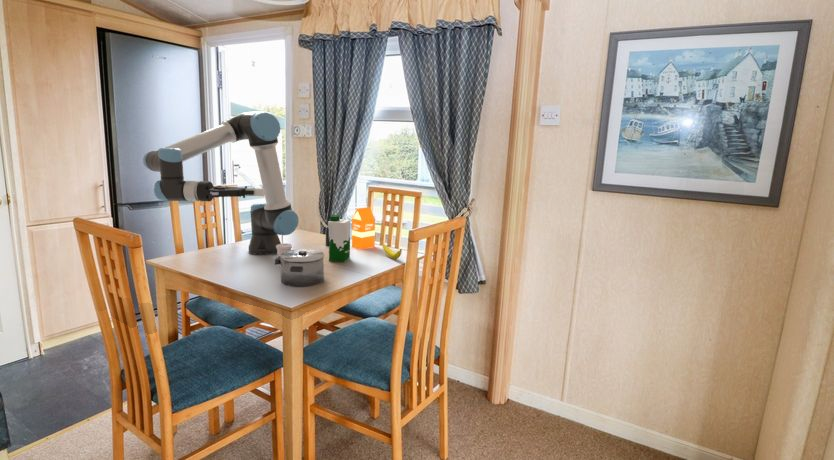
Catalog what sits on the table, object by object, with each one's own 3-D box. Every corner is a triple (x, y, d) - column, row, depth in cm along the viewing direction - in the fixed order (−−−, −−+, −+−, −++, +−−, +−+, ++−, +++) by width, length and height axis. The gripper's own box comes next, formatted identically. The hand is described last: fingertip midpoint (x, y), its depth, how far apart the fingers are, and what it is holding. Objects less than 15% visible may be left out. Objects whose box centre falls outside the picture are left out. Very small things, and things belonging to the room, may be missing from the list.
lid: (327, 252, 182) (327, 247, 181) (319, 263, 166) (319, 258, 166) (287, 251, 181) (286, 246, 181) (275, 262, 166) (275, 257, 165)
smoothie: (278, 265, 194) (277, 233, 191) (293, 265, 195) (292, 233, 192) (275, 269, 188) (273, 236, 185) (290, 269, 188) (289, 236, 186)
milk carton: (333, 256, 211) (333, 214, 207) (352, 258, 209) (352, 215, 205) (326, 261, 202) (325, 217, 198) (345, 263, 200) (345, 218, 196)
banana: (385, 252, 220) (385, 240, 218) (404, 262, 204) (404, 249, 202) (379, 253, 218) (379, 240, 217) (398, 263, 202) (398, 249, 201)
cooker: (328, 272, 186) (327, 251, 184) (318, 289, 166) (317, 265, 164) (284, 271, 185) (283, 250, 184) (269, 288, 165) (268, 264, 163)
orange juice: (374, 246, 231) (375, 207, 227) (361, 249, 225) (361, 209, 221) (364, 243, 236) (365, 206, 232) (351, 246, 230) (351, 207, 226)
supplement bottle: (327, 246, 228) (327, 223, 225) (324, 243, 234) (323, 221, 231) (341, 245, 231) (340, 222, 228) (336, 242, 237) (336, 220, 234)
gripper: (208, 198, 176) (269, 199, 176) (192, 203, 163) (258, 205, 164) (206, 179, 174) (268, 180, 175) (190, 183, 162) (257, 184, 162)
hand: (263, 192), depth 169 cm, fingers closed
